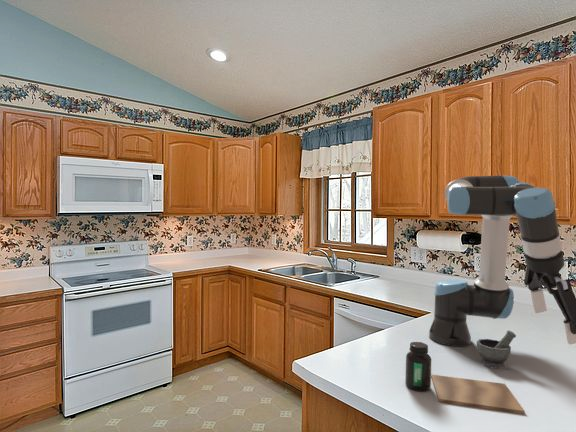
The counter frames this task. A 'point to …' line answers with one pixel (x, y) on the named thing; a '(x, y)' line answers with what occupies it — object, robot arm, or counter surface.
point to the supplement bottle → (418, 367)
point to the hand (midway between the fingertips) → (556, 325)
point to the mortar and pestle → (495, 350)
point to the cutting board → (475, 394)
